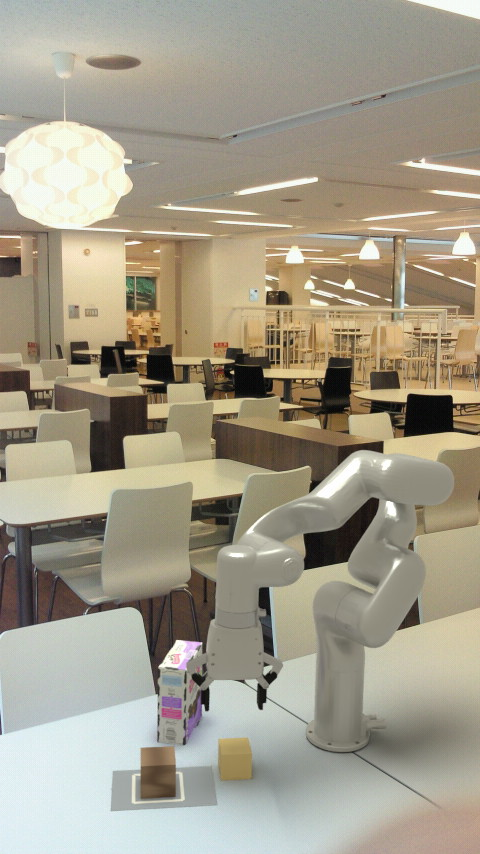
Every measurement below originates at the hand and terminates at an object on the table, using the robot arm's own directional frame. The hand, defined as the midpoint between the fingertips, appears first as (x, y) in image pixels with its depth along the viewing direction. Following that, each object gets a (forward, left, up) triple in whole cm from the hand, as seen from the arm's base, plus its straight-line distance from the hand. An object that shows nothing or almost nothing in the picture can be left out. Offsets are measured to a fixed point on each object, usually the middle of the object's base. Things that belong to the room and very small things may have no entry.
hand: (233, 707), depth 151 cm
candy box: (+9, -17, -14) cm, 24 cm away
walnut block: (+14, +4, -13) cm, 19 cm away
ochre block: (0, 0, -14) cm, 14 cm away
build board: (+13, +4, -14) cm, 19 cm away
